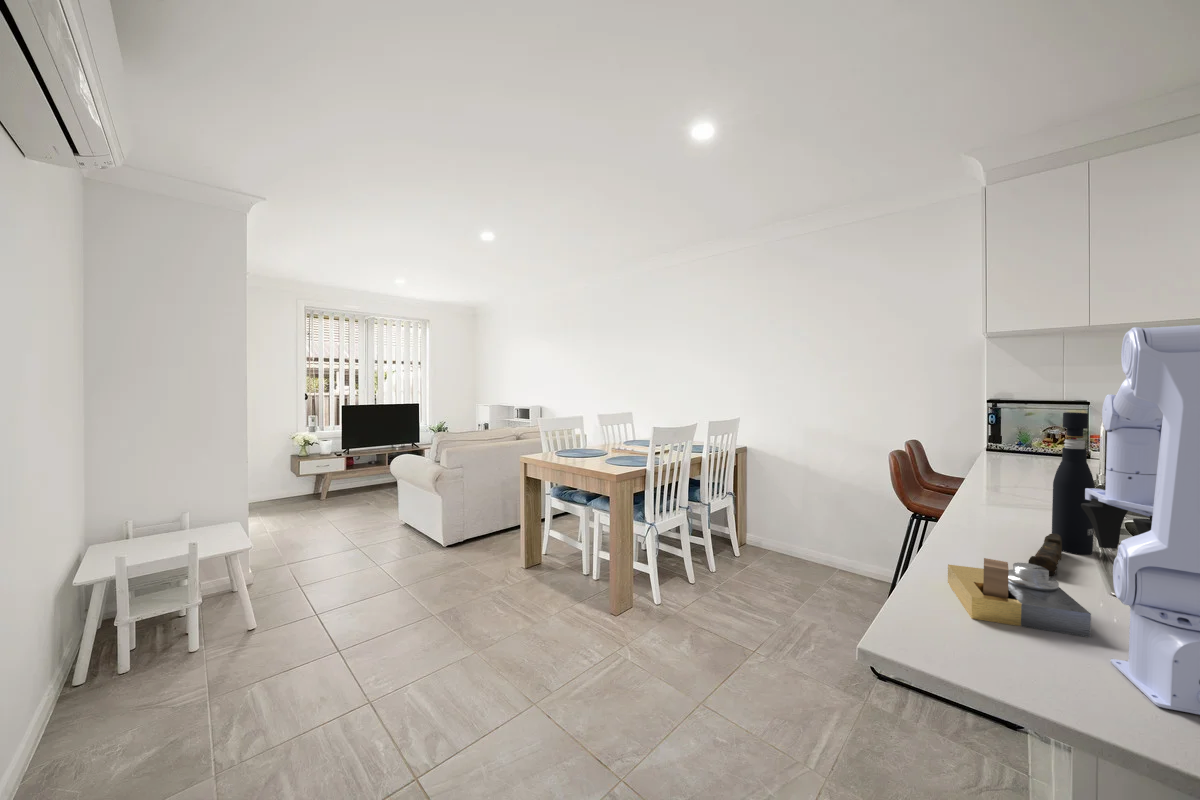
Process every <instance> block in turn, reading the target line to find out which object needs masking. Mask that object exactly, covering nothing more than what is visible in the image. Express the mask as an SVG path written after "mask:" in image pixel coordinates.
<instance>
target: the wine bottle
mask: <svg viewBox="0 0 1200 800" xmlns="http://www.w3.org/2000/svg"><path fill="white" fill-rule="evenodd" d="M1062 428H1065V429H1066V438H1065V439H1064V441H1063V443H1064V444H1063V446H1064V447H1062V450H1061V451H1062V452H1061V454H1062V455H1061V461H1060V463H1059V465H1058V467H1057V469H1056V472H1055V474H1054V479H1053V482H1052V506H1051V507H1052V508H1051V512H1052V513H1051V534H1059V535H1060V536H1061V538H1062V553H1063V552H1064V553H1068V554H1073V555H1082V556H1083V555H1084V556H1088V555H1089V556H1090V555H1092V554H1094V553H1093V552H1094V528H1093V526H1092V523H1091V521H1090V519H1089V518H1088V516H1087V514H1086V513H1085V511H1084V510H1083V509H1082V507H1081V504H1082V503H1090V502H1091V501H1090V500H1086V499H1085V488H1094V489H1096V486H1095V481H1094V477H1093V474H1092V471H1091V469H1090V467H1089V463H1088V462H1087V460H1088V459H1087V457H1088V455H1087V454H1088V450H1087V449H1086V440H1084V439H1083V438H1084V437H1085V436H1084V429H1085V430H1087V429H1088V428H1089V413H1088V412H1076V411H1075V412H1073V411H1072V412H1063V413H1062Z"/></svg>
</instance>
